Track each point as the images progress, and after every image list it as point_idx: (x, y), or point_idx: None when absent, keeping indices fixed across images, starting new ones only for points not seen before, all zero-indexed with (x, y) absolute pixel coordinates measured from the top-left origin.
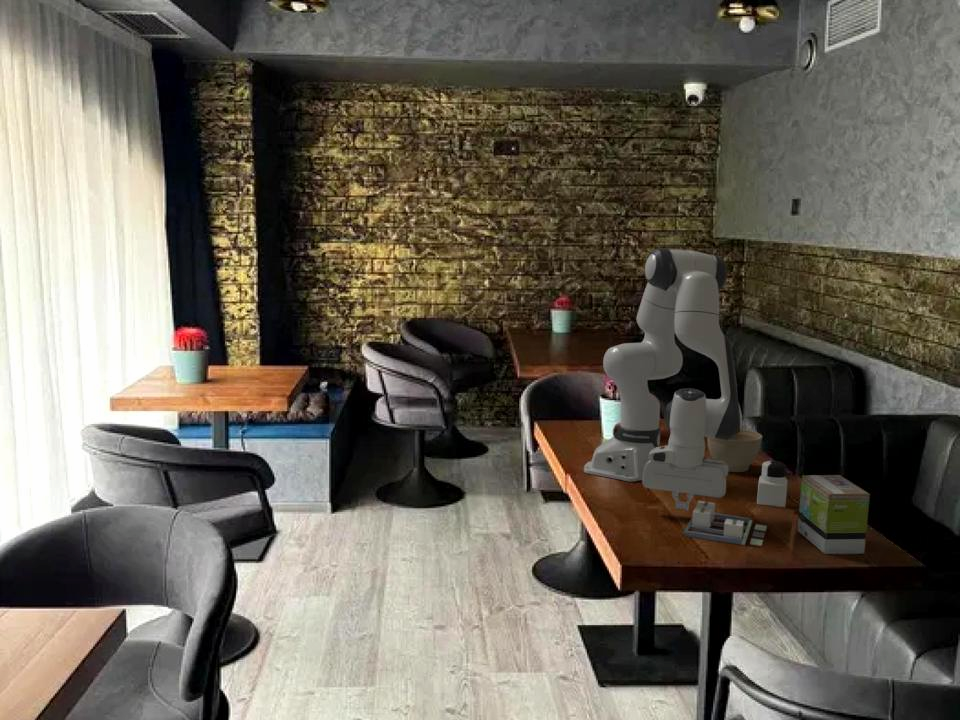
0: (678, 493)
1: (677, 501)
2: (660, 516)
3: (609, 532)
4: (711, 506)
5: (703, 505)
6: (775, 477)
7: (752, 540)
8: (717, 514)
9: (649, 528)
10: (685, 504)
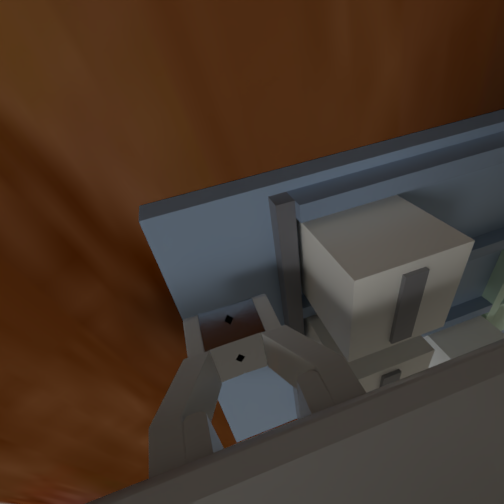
0: (218, 445)
1: (213, 395)
2: (63, 273)
3: (65, 500)
4: (437, 316)
5: (391, 342)
6: None
7: (497, 316)
8: (424, 184)
9: (143, 408)
10: (268, 362)
